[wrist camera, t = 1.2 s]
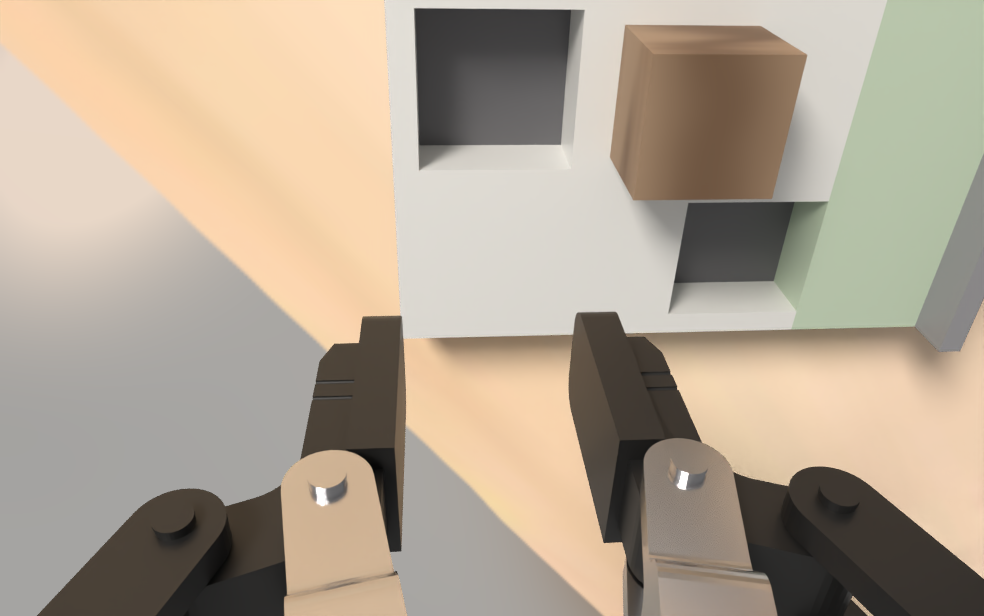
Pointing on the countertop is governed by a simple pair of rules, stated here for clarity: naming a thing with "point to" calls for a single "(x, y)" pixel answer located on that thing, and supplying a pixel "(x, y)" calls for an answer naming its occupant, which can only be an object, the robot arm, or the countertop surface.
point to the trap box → (685, 223)
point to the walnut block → (703, 111)
